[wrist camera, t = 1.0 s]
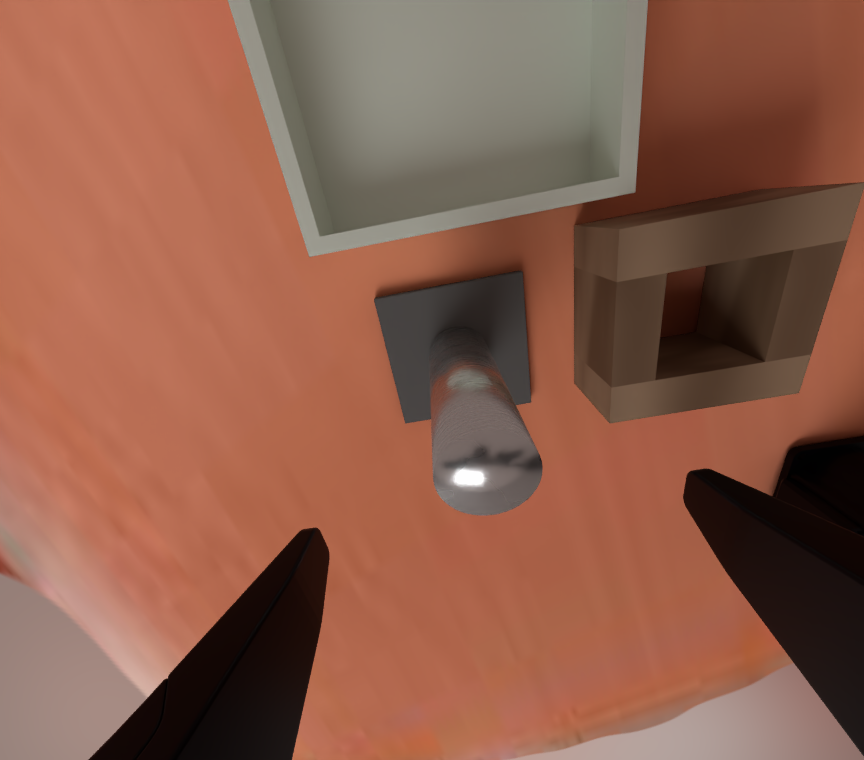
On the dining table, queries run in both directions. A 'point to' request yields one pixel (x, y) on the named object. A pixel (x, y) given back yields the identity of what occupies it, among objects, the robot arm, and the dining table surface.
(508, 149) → the tray
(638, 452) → the dining table surface
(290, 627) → the robot arm
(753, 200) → the brown hollow block
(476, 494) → the pin
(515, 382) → the mat
